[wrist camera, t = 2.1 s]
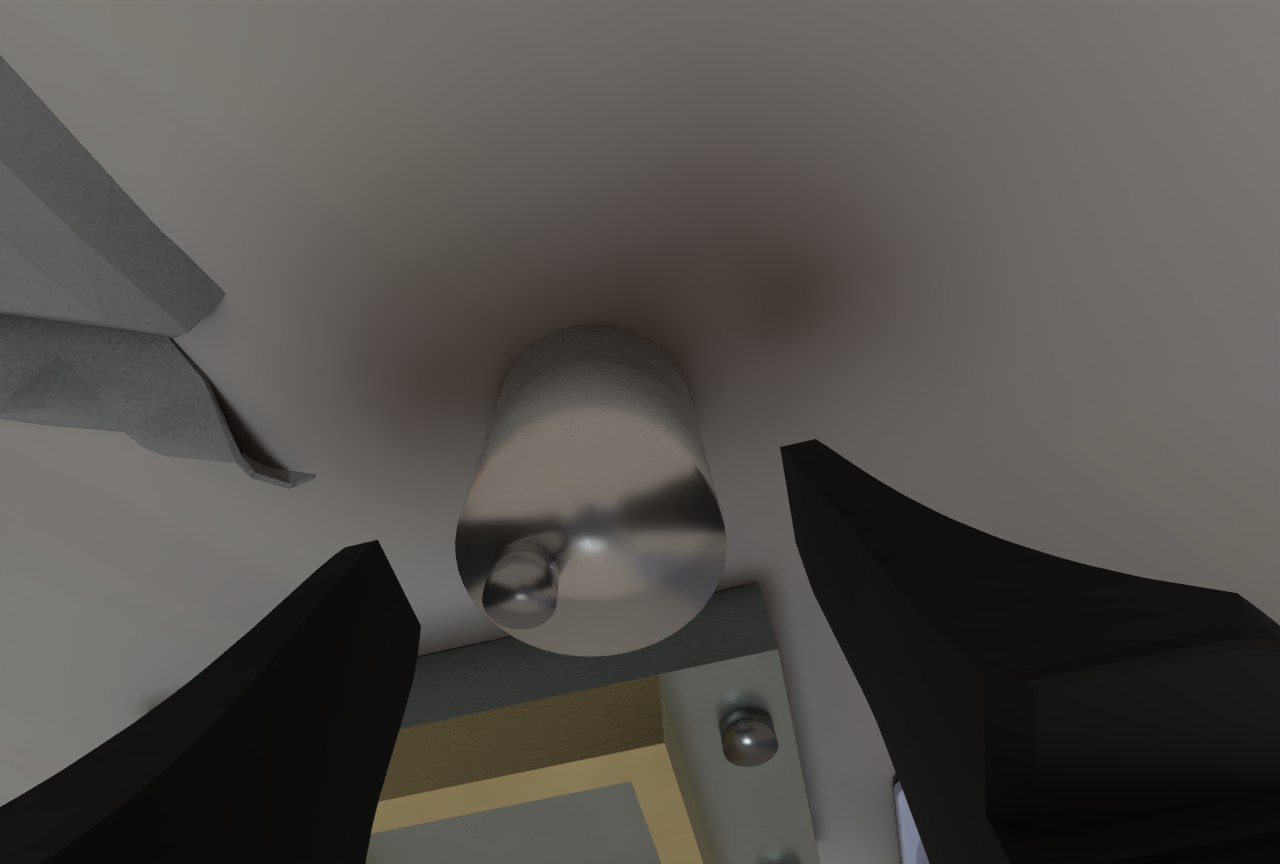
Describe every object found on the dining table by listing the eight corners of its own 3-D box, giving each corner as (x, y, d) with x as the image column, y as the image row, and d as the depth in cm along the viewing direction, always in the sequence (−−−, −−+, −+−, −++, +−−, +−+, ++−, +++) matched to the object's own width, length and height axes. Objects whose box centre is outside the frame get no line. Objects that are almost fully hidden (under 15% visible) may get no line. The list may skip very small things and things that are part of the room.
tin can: (668, 302, 16) (703, 428, 10) (708, 475, 18) (755, 658, 12) (471, 351, 16) (400, 498, 11) (532, 515, 18) (499, 712, 13)
